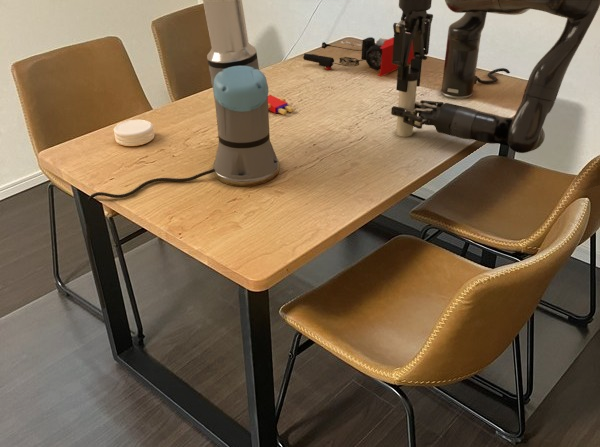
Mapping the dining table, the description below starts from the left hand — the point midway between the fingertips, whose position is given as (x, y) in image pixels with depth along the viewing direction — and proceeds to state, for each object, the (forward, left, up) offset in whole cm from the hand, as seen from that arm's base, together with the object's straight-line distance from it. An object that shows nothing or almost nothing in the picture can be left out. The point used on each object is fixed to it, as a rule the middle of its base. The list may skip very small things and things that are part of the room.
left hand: (408, 87), depth 156 cm
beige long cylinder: (0, 0, -13) cm, 13 cm away
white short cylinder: (-55, +44, -13) cm, 72 cm away
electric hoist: (+33, +49, -13) cm, 61 cm away
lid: (0, 0, +4) cm, 4 cm away
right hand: (-1, +3, -6) cm, 6 cm away
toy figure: (-15, +36, -13) cm, 41 cm away
